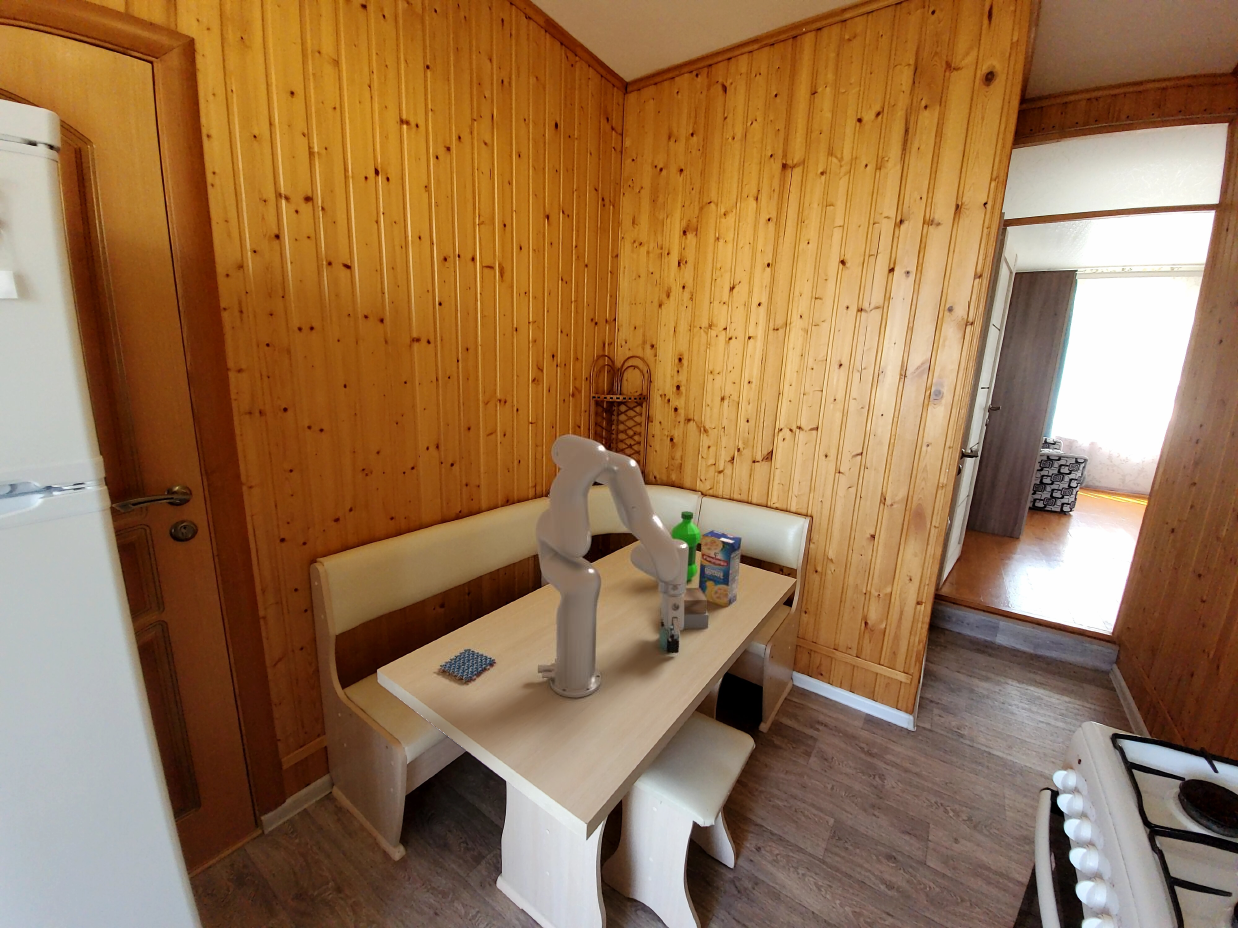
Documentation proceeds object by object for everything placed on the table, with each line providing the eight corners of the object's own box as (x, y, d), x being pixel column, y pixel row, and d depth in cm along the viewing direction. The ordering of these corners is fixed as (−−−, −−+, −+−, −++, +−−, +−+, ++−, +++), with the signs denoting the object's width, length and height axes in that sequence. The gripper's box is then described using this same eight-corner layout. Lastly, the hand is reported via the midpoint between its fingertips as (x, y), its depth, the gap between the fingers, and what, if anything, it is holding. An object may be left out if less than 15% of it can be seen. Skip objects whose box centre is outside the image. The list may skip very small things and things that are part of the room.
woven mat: (468, 687, 118) (468, 680, 118) (437, 673, 123) (437, 666, 123) (498, 665, 127) (498, 658, 127) (468, 652, 132) (468, 645, 132)
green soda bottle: (664, 573, 185) (668, 509, 180) (690, 571, 188) (694, 508, 183) (675, 585, 175) (679, 518, 170) (702, 582, 178) (707, 516, 173)
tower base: (678, 629, 147) (679, 615, 146) (672, 614, 156) (673, 600, 155) (707, 628, 148) (708, 614, 147) (700, 613, 157) (701, 600, 156)
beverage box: (726, 607, 161) (732, 543, 156) (697, 596, 168) (701, 534, 163) (736, 600, 166) (741, 537, 161) (708, 589, 173) (712, 530, 168)
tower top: (679, 614, 147) (680, 600, 146) (674, 601, 155) (674, 588, 154) (706, 613, 148) (707, 599, 147) (699, 601, 155) (700, 587, 154)
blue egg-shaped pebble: (661, 652, 134) (661, 636, 133) (657, 641, 140) (658, 625, 139) (680, 652, 135) (681, 635, 134) (676, 641, 140) (677, 624, 139)
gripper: (693, 599, 125) (689, 661, 129) (679, 571, 142) (676, 626, 146) (664, 600, 125) (661, 662, 128) (653, 571, 142) (650, 627, 145)
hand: (669, 642), depth 137 cm, fingers open, 8 cm apart
